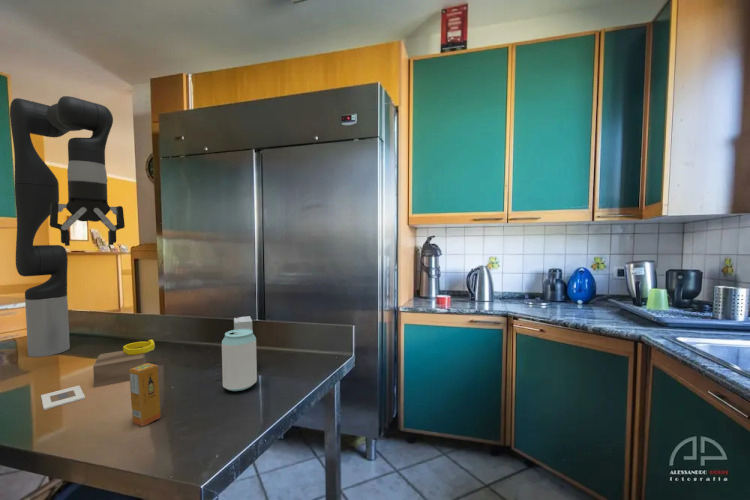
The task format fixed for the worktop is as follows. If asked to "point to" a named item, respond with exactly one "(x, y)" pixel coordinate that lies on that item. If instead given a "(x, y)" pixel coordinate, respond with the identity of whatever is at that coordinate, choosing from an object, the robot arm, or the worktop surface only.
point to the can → (239, 359)
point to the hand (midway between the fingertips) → (89, 245)
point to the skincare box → (243, 323)
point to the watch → (146, 347)
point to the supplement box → (145, 394)
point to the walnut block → (115, 367)
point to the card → (62, 397)
